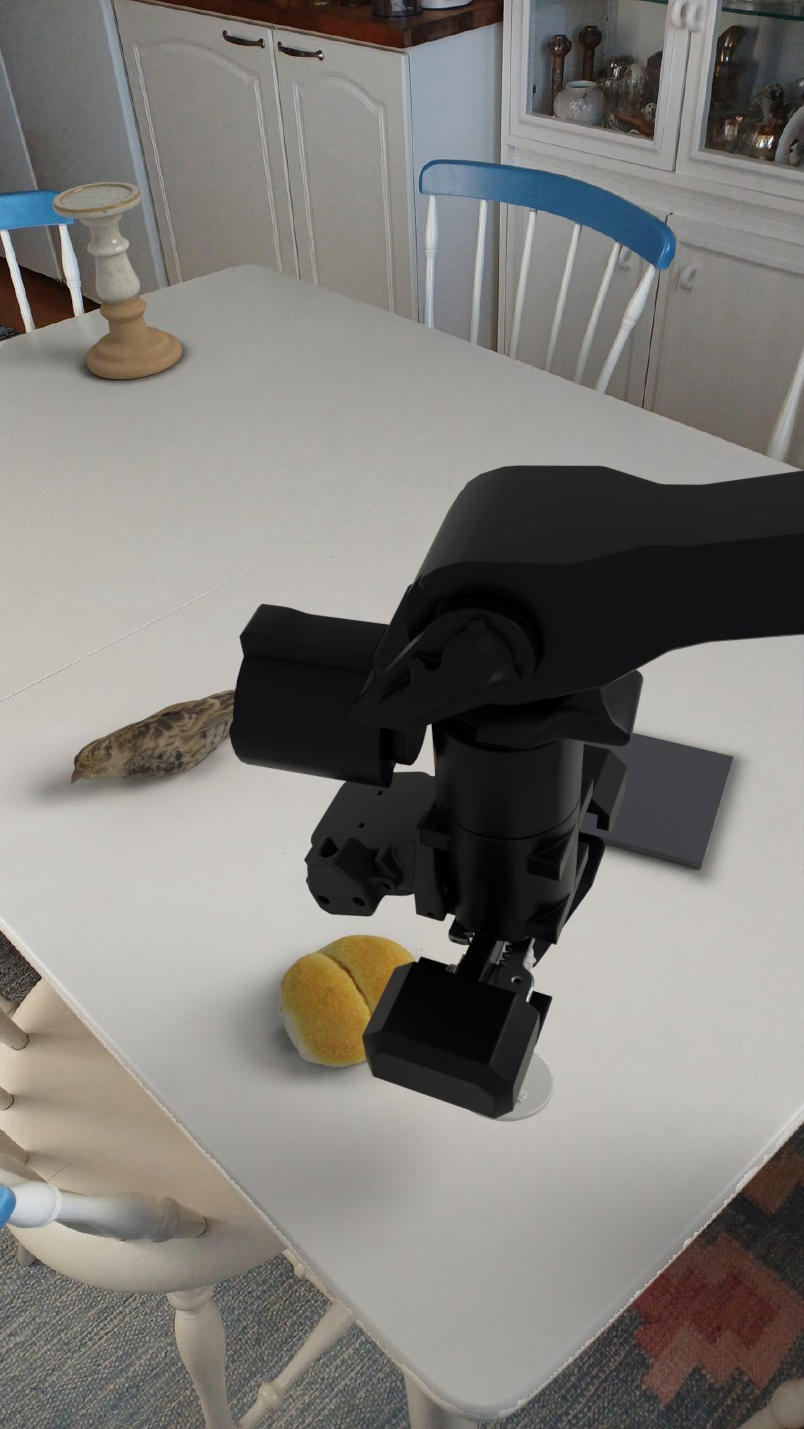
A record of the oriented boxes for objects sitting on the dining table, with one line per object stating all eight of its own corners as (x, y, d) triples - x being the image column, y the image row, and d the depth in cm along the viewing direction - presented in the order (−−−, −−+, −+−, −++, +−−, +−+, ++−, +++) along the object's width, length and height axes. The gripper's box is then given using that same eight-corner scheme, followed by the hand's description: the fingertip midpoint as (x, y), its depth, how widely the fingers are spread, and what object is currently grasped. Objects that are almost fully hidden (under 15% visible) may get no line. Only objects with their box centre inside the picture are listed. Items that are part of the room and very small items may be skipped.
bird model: (81, 807, 76) (53, 745, 77) (86, 822, 82) (60, 764, 83) (341, 695, 83) (313, 639, 84) (329, 717, 89) (302, 664, 89)
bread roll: (450, 1027, 65) (448, 990, 63) (316, 1094, 63) (307, 1058, 60) (389, 929, 71) (384, 892, 68) (263, 987, 68) (253, 951, 66)
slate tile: (732, 761, 80) (734, 756, 80) (701, 869, 73) (702, 864, 73) (589, 727, 84) (589, 722, 84) (545, 827, 77) (545, 821, 76)
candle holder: (185, 372, 136) (150, 204, 123) (87, 387, 135) (41, 218, 121) (179, 333, 145) (146, 173, 132) (87, 347, 144) (44, 186, 130)
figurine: (552, 1128, 52) (577, 926, 47) (444, 1113, 53) (456, 913, 47) (554, 1051, 57) (577, 860, 51) (455, 1038, 57) (467, 848, 52)
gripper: (408, 611, 51) (426, 829, 62) (213, 911, 39) (277, 1119, 49) (641, 656, 48) (617, 879, 58) (507, 1003, 35) (508, 1207, 46)
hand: (509, 1004), depth 53 cm, fingers closed on figurine, 5 cm apart
